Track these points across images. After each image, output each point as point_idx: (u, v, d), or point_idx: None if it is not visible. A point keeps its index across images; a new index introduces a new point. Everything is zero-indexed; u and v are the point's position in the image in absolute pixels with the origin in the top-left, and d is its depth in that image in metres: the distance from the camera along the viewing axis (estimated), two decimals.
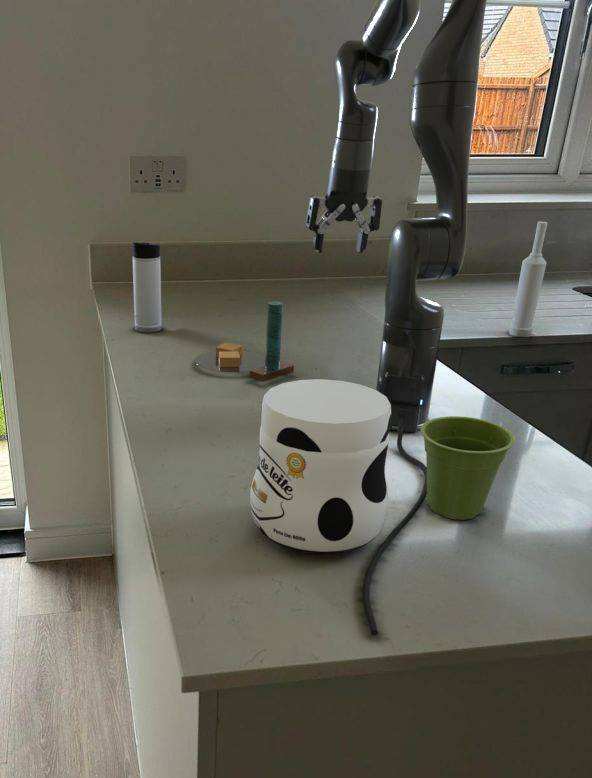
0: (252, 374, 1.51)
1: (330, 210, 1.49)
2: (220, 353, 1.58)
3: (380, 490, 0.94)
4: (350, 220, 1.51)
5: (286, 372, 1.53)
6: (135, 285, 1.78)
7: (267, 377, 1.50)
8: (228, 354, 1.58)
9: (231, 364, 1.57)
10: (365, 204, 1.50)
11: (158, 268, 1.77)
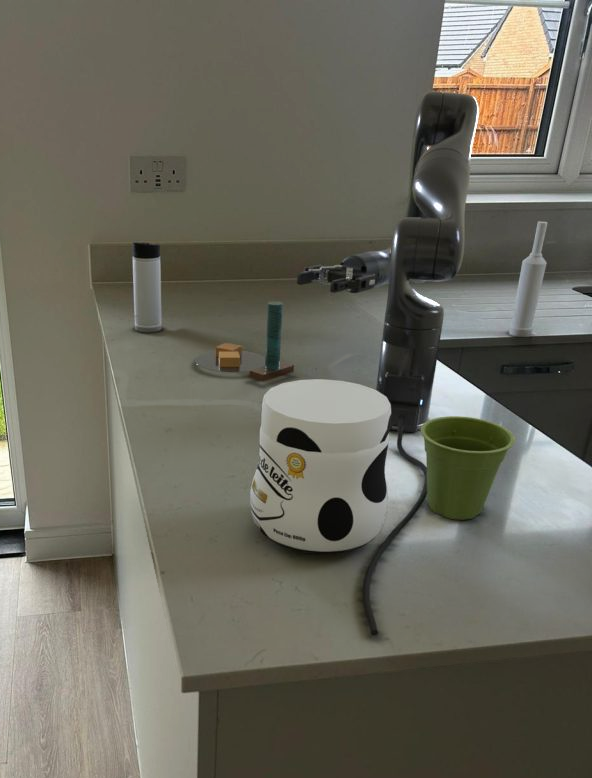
0: (252, 374, 1.51)
1: None
2: (220, 353, 1.58)
3: (380, 490, 0.94)
4: (340, 274, 1.55)
5: (286, 372, 1.53)
6: (135, 285, 1.78)
7: (267, 377, 1.50)
8: (228, 354, 1.58)
9: (231, 364, 1.57)
10: (359, 273, 1.55)
11: (158, 268, 1.77)
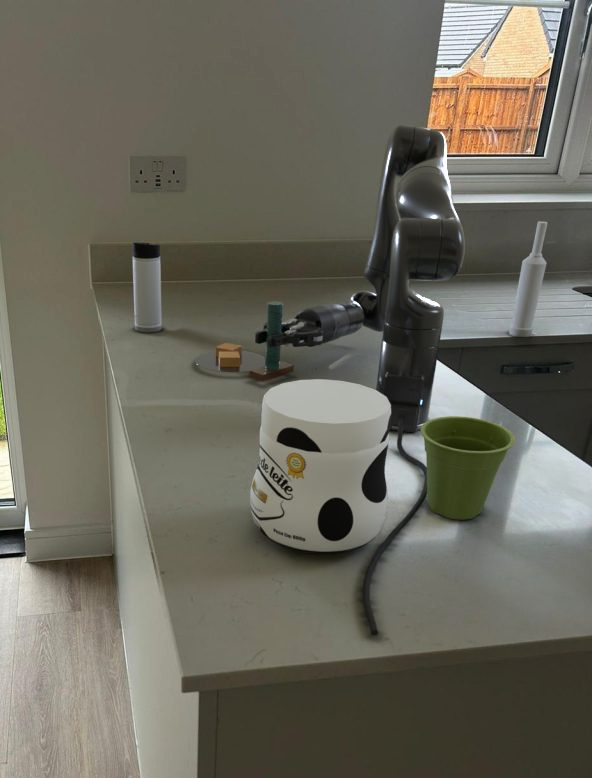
0: (252, 374, 1.51)
1: None
2: (220, 353, 1.58)
3: (380, 490, 0.94)
4: None
5: (286, 372, 1.53)
6: (135, 285, 1.78)
7: (267, 377, 1.50)
8: (228, 354, 1.58)
9: (231, 364, 1.57)
10: (313, 328, 1.51)
11: (158, 268, 1.77)
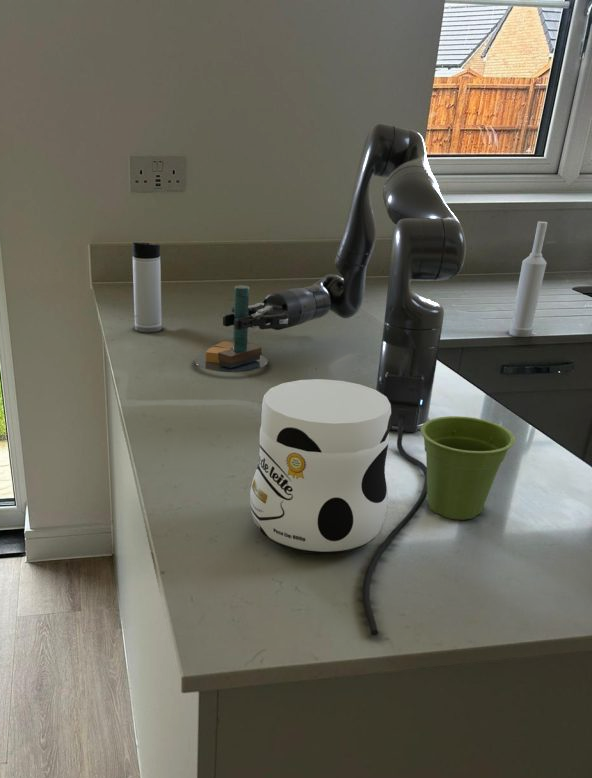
0: (221, 356, 1.56)
1: None
2: (211, 348, 1.61)
3: (380, 490, 0.94)
4: None
5: (254, 354, 1.59)
6: (135, 285, 1.78)
7: (235, 359, 1.55)
8: (217, 350, 1.60)
9: (216, 360, 1.59)
10: (280, 312, 1.57)
11: (158, 268, 1.77)
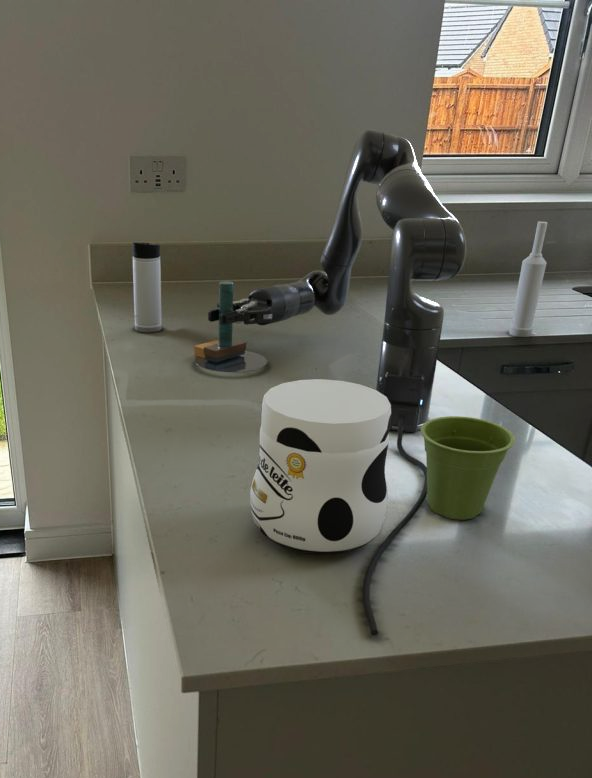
0: (206, 351, 1.59)
1: None
2: (204, 343, 1.64)
3: (380, 490, 0.94)
4: None
5: (239, 349, 1.61)
6: (135, 285, 1.78)
7: (220, 353, 1.58)
8: (207, 345, 1.63)
9: (201, 355, 1.62)
10: (264, 307, 1.59)
11: (158, 268, 1.77)
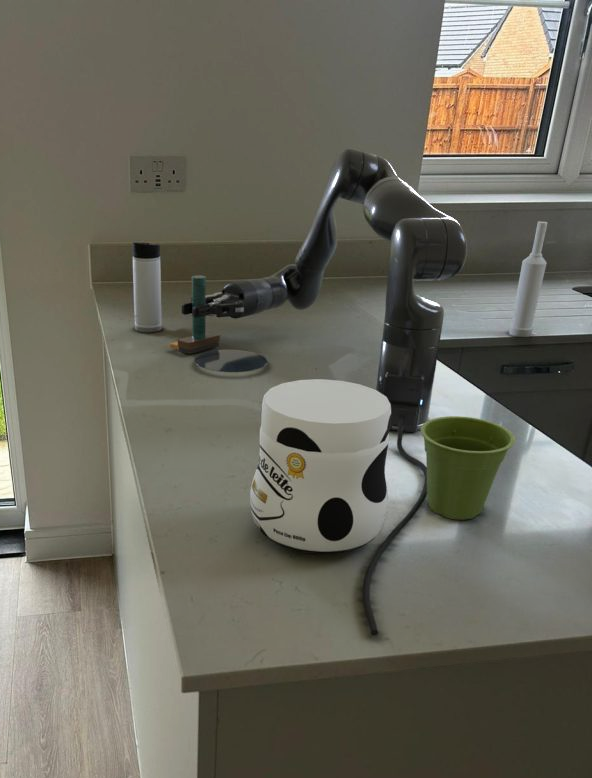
0: (180, 343, 1.64)
1: None
2: None
3: (380, 490, 0.94)
4: None
5: (212, 341, 1.67)
6: (135, 285, 1.78)
7: (193, 345, 1.63)
8: None
9: None
10: (236, 301, 1.64)
11: (158, 268, 1.77)
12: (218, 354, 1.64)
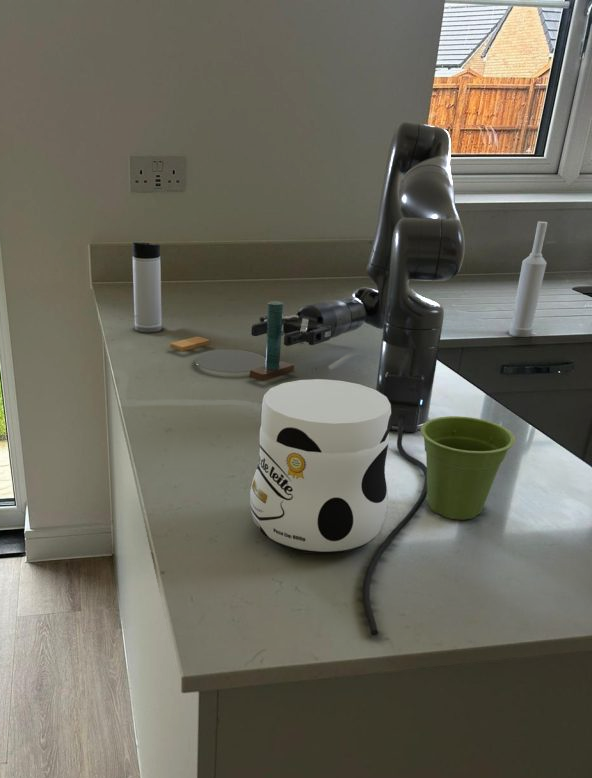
0: (253, 374, 1.51)
1: None
2: (180, 341, 1.70)
3: (380, 490, 0.94)
4: (295, 325, 1.51)
5: (286, 372, 1.54)
6: (135, 285, 1.78)
7: (267, 377, 1.50)
8: (183, 343, 1.68)
9: None
10: (315, 325, 1.51)
11: (158, 268, 1.77)
12: (218, 354, 1.64)
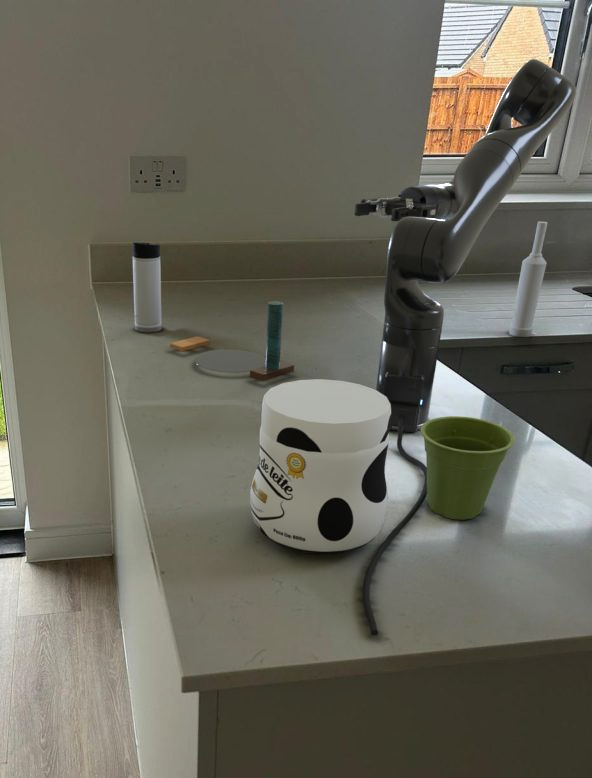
0: (253, 374, 1.51)
1: (386, 202, 1.54)
2: (180, 341, 1.70)
3: (380, 490, 0.94)
4: (399, 204, 1.50)
5: (286, 372, 1.54)
6: (135, 285, 1.78)
7: (267, 377, 1.50)
8: (183, 343, 1.68)
9: None
10: (419, 204, 1.50)
11: (158, 268, 1.77)
12: (218, 354, 1.64)
